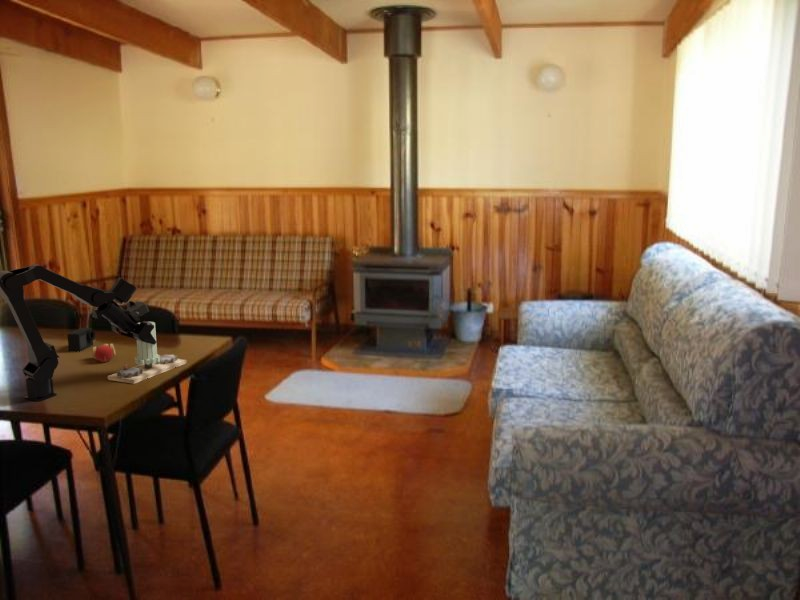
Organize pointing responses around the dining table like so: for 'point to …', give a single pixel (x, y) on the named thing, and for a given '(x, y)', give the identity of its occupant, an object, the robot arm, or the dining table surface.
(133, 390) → the dining table surface
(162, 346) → the dining table surface
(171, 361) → the gear board
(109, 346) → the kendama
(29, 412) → the dining table surface
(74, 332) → the digital camera
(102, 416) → the dining table surface
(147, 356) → the gear sleeve
